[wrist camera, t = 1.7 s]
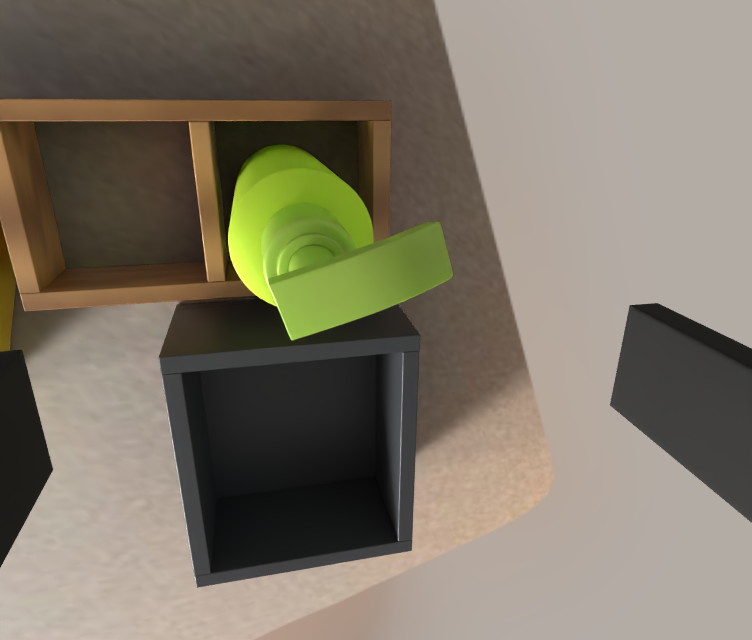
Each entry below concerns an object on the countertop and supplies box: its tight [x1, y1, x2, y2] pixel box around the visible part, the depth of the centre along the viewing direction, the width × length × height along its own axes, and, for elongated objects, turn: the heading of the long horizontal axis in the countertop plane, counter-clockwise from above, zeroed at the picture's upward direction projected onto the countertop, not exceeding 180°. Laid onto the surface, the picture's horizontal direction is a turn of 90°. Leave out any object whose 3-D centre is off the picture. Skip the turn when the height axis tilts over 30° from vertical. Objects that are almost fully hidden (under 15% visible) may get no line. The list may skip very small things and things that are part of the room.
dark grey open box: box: [159, 299, 420, 587], centre depth 35 cm, size 16×14×8 cm
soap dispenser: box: [228, 144, 453, 340], centre depth 25 cm, size 6×7×20 cm
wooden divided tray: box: [0, 98, 391, 311], centre depth 31 cm, size 10×20×4 cm, turn 90°
